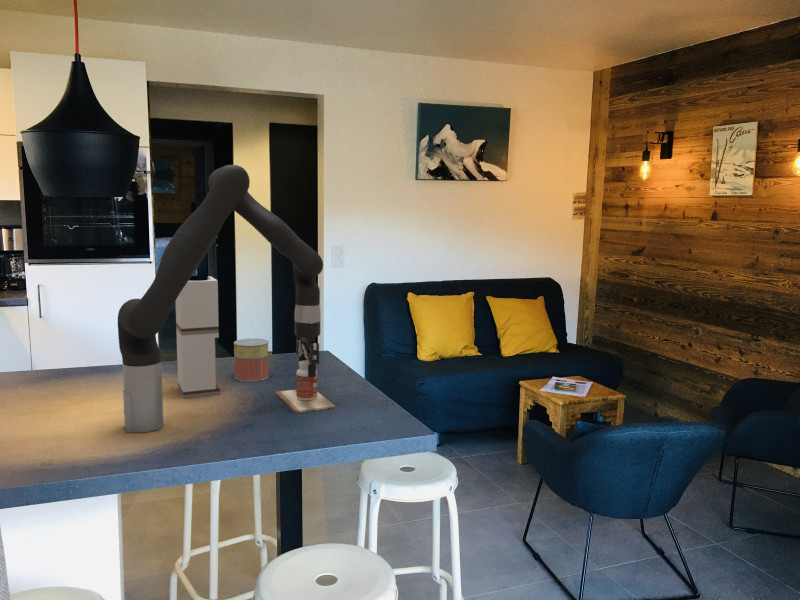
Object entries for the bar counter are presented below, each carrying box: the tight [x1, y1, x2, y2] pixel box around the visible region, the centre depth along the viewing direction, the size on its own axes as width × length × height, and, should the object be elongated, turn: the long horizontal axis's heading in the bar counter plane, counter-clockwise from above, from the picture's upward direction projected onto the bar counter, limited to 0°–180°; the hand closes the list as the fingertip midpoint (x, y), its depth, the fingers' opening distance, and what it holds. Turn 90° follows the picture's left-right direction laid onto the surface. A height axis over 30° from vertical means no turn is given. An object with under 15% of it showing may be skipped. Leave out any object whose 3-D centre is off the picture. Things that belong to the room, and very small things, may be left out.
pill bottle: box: [295, 360, 318, 401], centre depth 193 cm, size 6×6×11 cm
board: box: [274, 389, 336, 414], centre depth 193 cm, size 12×20×1 cm, turn 26°
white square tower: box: [175, 275, 221, 400], centre depth 197 cm, size 11×11×35 cm
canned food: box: [233, 338, 270, 382], centre depth 217 cm, size 11×11×12 cm
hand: (307, 373), depth 192 cm, fingers open, 8 cm apart
